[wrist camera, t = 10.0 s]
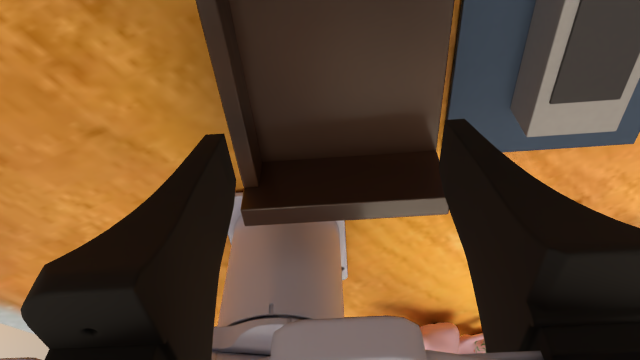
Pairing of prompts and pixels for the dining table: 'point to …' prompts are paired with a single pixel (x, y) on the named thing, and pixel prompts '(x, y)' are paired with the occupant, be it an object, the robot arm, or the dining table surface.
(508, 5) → the desk mat
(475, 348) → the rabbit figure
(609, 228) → the robot arm
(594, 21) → the remote
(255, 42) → the dark wooden tray
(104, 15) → the dining table surface
